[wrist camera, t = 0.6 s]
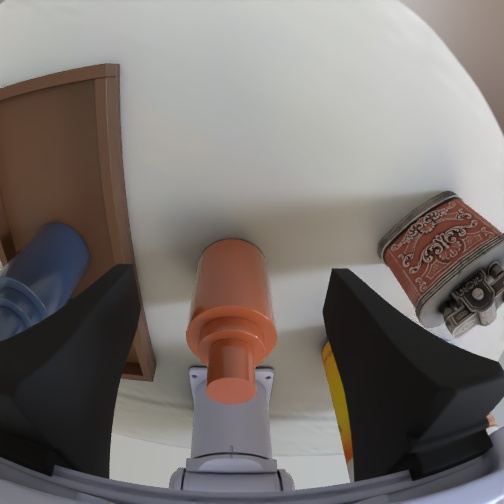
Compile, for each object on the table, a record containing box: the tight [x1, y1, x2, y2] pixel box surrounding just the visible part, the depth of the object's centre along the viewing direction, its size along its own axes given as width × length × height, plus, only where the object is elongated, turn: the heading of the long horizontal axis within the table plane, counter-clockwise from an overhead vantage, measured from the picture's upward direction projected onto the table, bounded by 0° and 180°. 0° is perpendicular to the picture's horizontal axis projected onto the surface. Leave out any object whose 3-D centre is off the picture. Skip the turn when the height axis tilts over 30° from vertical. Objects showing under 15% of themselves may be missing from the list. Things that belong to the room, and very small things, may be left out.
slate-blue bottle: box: [0, 222, 90, 341], centre depth 17 cm, size 5×5×10 cm
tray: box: [0, 63, 156, 382], centre depth 21 cm, size 26×12×2 cm, turn 177°
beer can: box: [322, 340, 354, 483], centre depth 21 cm, size 6×6×15 cm
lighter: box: [378, 191, 504, 339], centre depth 18 cm, size 8×3×10 cm, turn 130°
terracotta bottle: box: [186, 239, 277, 405], centre depth 19 cm, size 5×5×10 cm
